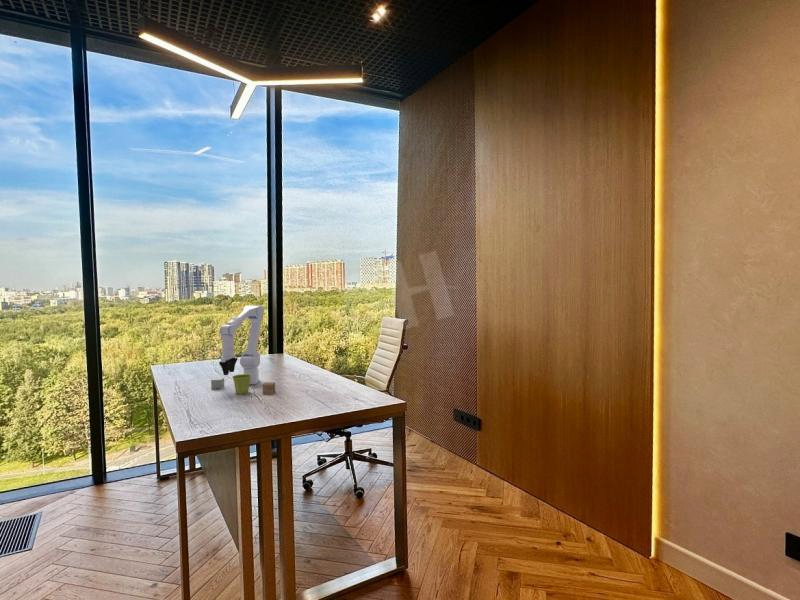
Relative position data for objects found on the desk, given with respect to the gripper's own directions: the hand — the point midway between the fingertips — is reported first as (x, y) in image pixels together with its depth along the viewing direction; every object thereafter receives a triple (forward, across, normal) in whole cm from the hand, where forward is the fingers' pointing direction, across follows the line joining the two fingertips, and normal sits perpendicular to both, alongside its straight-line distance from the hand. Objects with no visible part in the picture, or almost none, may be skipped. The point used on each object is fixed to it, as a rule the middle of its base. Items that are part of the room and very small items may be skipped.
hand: (228, 373), depth 238 cm
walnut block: (+10, +4, +22) cm, 24 cm away
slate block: (+10, -8, -9) cm, 15 cm away
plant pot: (+10, +4, +8) cm, 13 cm away
